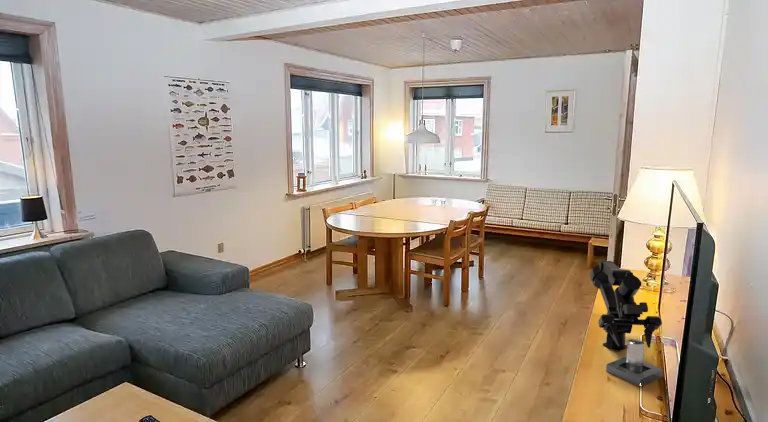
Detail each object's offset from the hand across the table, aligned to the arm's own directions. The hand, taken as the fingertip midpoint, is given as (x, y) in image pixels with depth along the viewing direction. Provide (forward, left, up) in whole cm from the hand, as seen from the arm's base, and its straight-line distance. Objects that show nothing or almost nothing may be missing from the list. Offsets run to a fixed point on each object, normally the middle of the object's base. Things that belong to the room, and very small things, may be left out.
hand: (634, 346), depth 160 cm
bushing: (+1, +1, -9) cm, 9 cm away
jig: (+1, +1, -9) cm, 9 cm away
